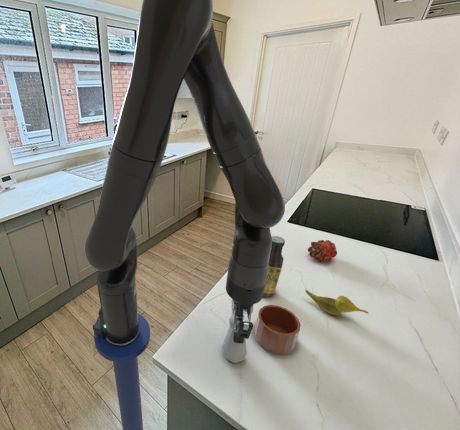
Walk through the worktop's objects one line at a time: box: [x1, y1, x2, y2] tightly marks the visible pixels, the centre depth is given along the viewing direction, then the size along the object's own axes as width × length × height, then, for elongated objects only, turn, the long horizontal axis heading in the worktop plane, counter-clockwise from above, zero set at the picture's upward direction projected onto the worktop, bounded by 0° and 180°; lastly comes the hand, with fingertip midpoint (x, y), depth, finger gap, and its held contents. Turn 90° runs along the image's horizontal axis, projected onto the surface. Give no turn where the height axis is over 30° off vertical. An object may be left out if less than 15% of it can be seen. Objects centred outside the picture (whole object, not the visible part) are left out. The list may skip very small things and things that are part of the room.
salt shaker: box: [221, 313, 248, 364], centre depth 62 cm, size 6×6×13 cm
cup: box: [254, 304, 302, 356], centre depth 68 cm, size 10×10×7 cm
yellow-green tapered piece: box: [304, 289, 370, 316], centre depth 75 cm, size 4×15×6 cm, turn 47°
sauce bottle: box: [263, 235, 286, 298], centre depth 80 cm, size 7×6×20 cm
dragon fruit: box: [307, 239, 338, 263], centre depth 97 cm, size 8×8×12 cm
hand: (237, 332), depth 61 cm, fingers closed on salt shaker, 4 cm apart
